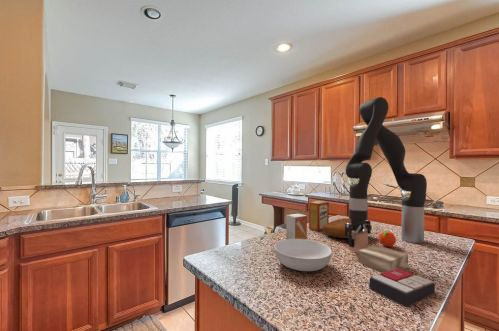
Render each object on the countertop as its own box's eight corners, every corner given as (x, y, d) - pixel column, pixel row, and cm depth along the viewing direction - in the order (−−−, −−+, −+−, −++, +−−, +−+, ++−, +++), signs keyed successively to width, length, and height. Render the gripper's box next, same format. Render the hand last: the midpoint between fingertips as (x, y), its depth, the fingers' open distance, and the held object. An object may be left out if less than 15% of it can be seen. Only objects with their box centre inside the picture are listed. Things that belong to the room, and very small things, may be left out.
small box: (295, 245, 111) (295, 217, 111) (285, 241, 116) (285, 214, 116) (307, 242, 115) (307, 215, 115) (297, 238, 121) (297, 213, 121)
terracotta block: (356, 247, 108) (356, 230, 108) (367, 251, 103) (368, 233, 103) (348, 249, 106) (348, 231, 106) (359, 253, 101) (359, 234, 101)
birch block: (376, 257, 98) (376, 244, 98) (407, 267, 88) (408, 254, 88) (358, 263, 92) (358, 250, 92) (390, 275, 82) (390, 261, 82)
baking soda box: (318, 231, 134) (318, 203, 134) (309, 229, 139) (309, 201, 139) (328, 228, 140) (328, 201, 140) (319, 226, 145) (319, 200, 145)
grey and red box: (435, 281, 70) (407, 291, 63) (435, 296, 70) (406, 308, 63) (397, 267, 80) (369, 274, 73) (396, 280, 80) (368, 289, 72)
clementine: (391, 250, 104) (391, 234, 104) (375, 246, 110) (375, 231, 110) (398, 246, 110) (398, 231, 110) (381, 242, 115) (381, 228, 115)
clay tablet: (346, 229, 138) (346, 216, 138) (375, 237, 123) (375, 222, 123) (319, 235, 126) (319, 220, 126) (347, 245, 112) (347, 227, 112)
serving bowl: (298, 284, 75) (298, 262, 75) (263, 260, 93) (263, 243, 93) (344, 271, 84) (344, 251, 84) (305, 251, 103) (305, 235, 103)
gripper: (361, 205, 111) (360, 240, 111) (339, 208, 104) (339, 245, 104) (376, 208, 105) (376, 245, 105) (355, 211, 98) (354, 250, 98)
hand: (357, 245), depth 105 cm, fingers open, 8 cm apart
